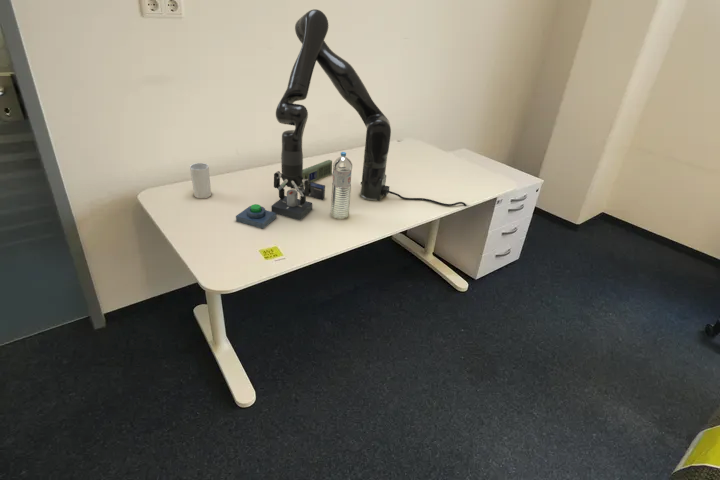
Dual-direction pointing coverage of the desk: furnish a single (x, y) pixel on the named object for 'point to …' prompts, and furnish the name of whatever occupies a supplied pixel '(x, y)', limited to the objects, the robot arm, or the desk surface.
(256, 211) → the button
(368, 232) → the desk surface
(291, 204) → the program dial
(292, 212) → the dial panel
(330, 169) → the handheld radio
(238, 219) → the housing
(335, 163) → the water bottle
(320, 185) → the mini dv tape
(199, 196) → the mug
